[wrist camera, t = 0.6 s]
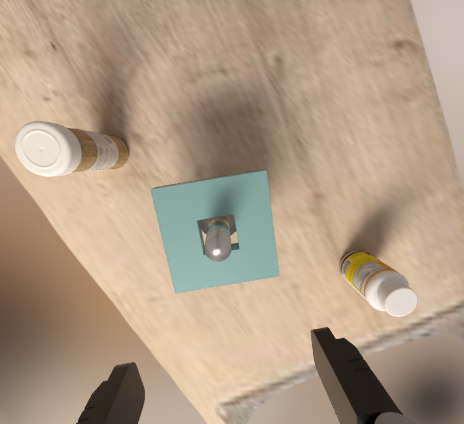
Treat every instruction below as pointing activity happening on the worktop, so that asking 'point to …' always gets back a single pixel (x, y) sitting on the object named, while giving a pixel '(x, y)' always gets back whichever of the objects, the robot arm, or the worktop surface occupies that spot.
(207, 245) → the grey peg
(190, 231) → the collar
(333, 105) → the worktop surface
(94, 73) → the worktop surface
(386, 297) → the supplement bottle
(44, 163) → the sprinkles bottle
